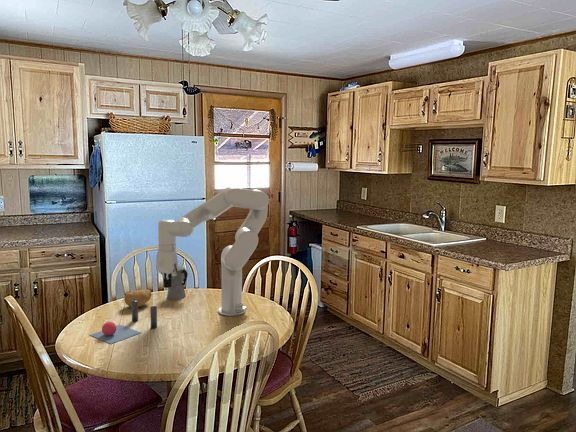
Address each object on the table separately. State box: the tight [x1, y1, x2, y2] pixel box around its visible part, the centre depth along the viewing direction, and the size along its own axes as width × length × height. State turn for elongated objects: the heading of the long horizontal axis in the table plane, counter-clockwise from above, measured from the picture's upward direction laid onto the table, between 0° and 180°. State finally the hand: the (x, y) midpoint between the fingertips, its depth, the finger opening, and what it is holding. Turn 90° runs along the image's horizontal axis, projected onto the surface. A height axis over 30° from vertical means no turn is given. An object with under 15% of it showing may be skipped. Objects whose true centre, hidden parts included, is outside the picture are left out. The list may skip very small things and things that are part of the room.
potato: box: [123, 288, 152, 308], centre depth 214 cm, size 10×14×8 cm
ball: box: [101, 321, 117, 336], centre depth 179 cm, size 6×6×6 cm
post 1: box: [131, 300, 139, 323], centre depth 195 cm, size 3×3×9 cm
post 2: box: [149, 305, 158, 330], centre depth 188 cm, size 3×3×9 cm
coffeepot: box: [166, 265, 188, 300], centre depth 228 cm, size 15×9×18 cm, turn 51°
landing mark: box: [89, 324, 142, 345], centre depth 180 cm, size 14×14×1 cm
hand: (167, 287), depth 201 cm, fingers closed
